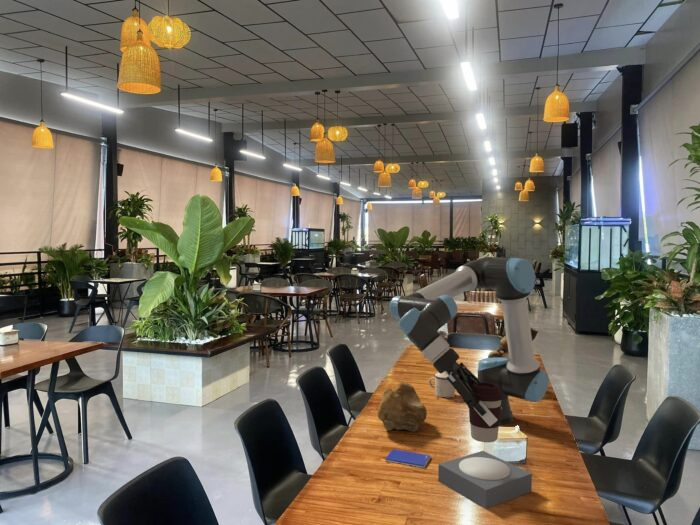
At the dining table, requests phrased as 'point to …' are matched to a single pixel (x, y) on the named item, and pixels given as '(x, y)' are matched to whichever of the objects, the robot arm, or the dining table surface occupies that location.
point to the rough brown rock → (401, 408)
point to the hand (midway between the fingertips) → (496, 416)
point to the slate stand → (485, 478)
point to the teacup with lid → (442, 385)
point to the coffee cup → (492, 400)
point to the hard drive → (408, 458)
